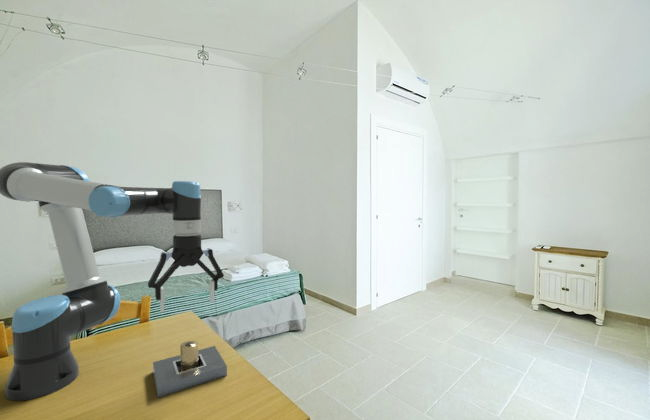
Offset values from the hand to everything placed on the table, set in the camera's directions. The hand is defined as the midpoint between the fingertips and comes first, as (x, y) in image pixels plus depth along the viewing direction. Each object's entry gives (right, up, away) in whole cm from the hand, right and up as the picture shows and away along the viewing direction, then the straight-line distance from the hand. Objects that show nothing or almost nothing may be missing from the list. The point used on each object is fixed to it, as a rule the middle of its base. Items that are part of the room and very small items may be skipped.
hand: (188, 305), depth 89 cm
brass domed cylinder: (0, -21, +1) cm, 21 cm away
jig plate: (0, -21, +1) cm, 21 cm away
